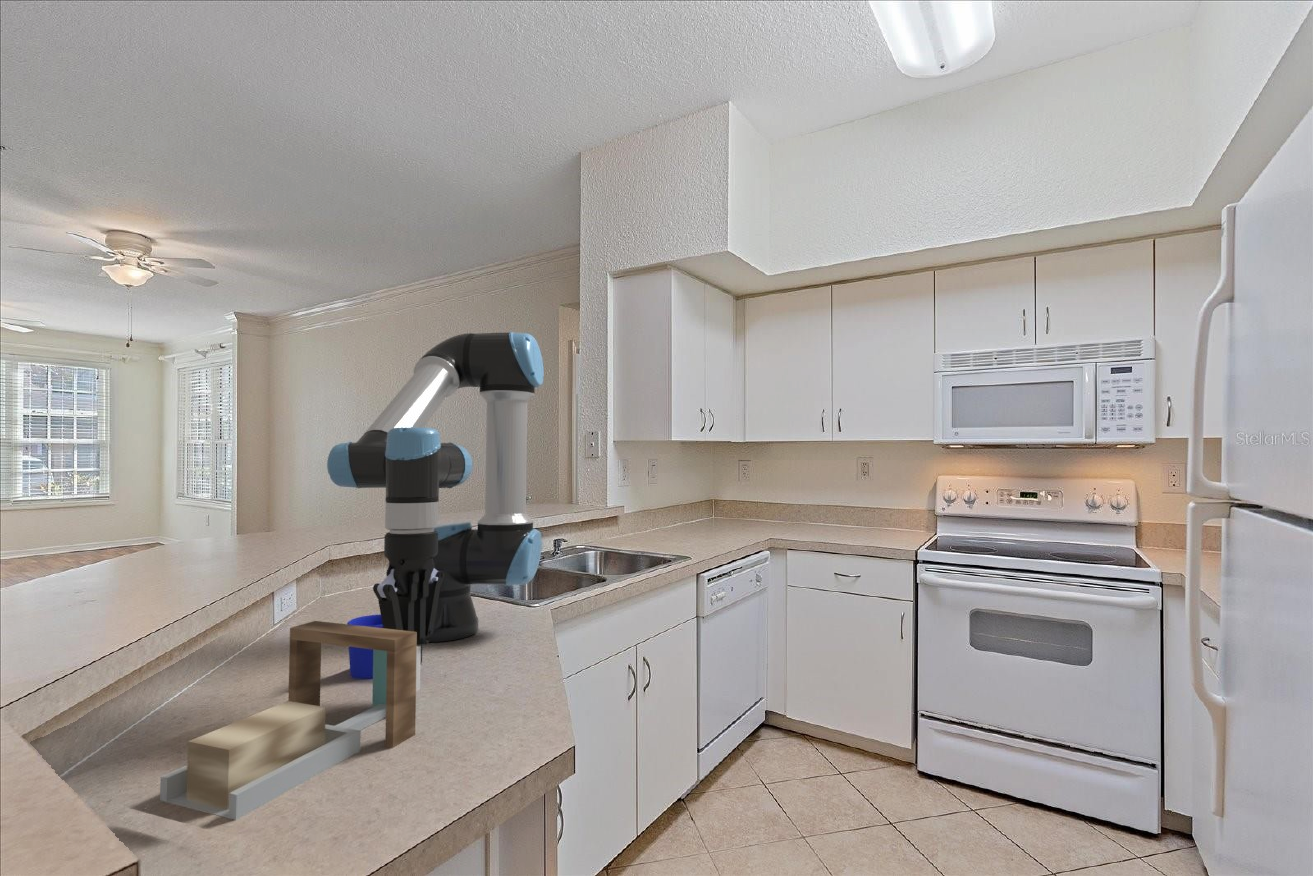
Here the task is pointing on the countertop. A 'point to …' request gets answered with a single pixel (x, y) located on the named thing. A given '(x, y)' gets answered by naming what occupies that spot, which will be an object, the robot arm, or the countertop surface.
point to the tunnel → (393, 641)
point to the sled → (270, 786)
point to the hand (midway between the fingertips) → (409, 690)
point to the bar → (251, 750)
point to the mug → (363, 650)
